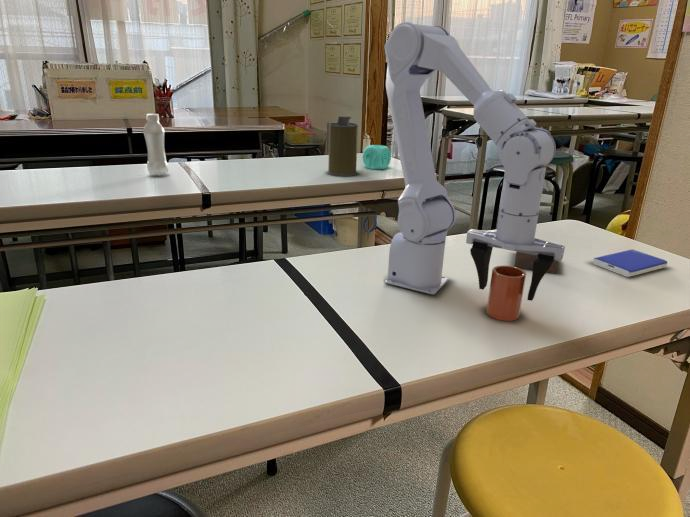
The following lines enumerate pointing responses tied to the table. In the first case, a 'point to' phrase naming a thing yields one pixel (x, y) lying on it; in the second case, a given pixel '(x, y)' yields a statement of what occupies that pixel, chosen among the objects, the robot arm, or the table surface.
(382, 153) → the decorative dice
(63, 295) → the table surface
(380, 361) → the table surface
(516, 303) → the cup
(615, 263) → the hard drive
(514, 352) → the table surface
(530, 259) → the block
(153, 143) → the plastic bottle
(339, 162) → the canister
